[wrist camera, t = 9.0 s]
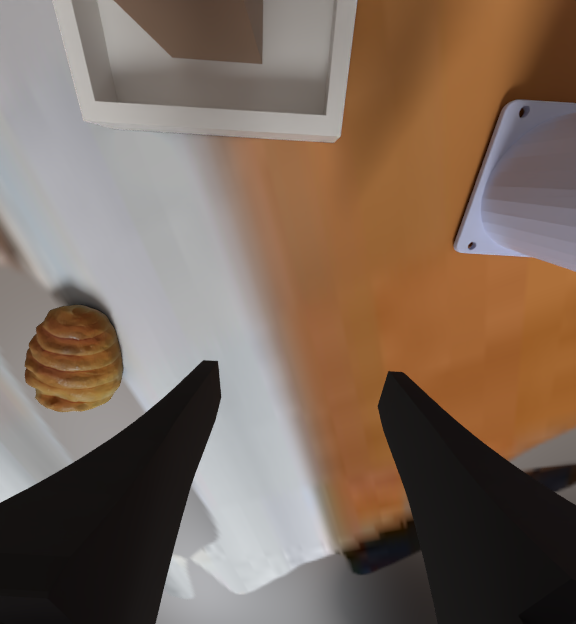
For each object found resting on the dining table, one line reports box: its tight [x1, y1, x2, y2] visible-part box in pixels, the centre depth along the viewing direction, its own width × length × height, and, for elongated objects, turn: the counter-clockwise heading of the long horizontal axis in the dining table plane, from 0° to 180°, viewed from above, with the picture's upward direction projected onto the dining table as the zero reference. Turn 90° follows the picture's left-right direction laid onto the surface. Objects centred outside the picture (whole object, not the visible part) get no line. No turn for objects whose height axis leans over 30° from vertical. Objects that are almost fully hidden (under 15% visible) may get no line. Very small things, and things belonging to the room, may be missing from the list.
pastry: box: [25, 305, 123, 412], centre depth 21 cm, size 9×7×4 cm
